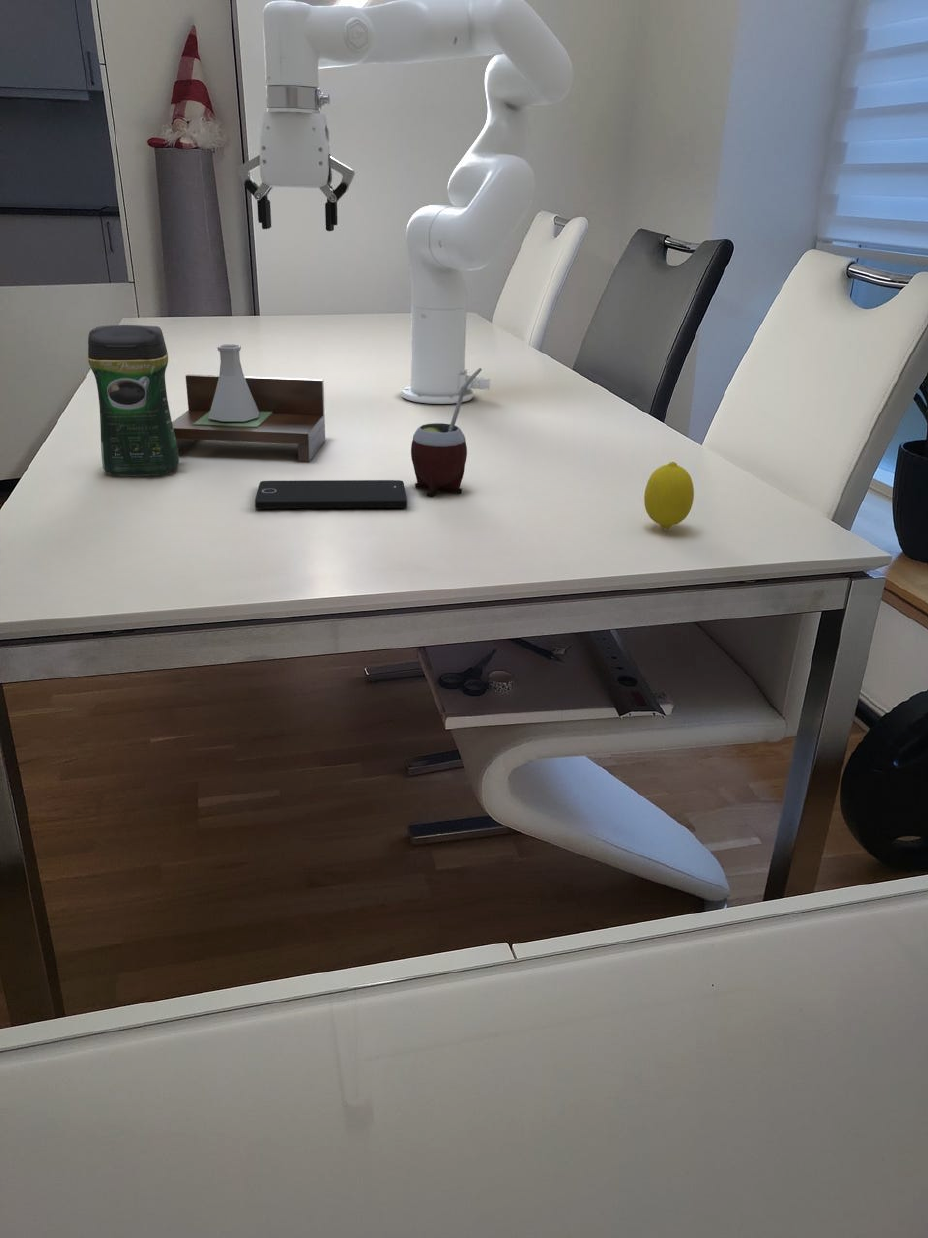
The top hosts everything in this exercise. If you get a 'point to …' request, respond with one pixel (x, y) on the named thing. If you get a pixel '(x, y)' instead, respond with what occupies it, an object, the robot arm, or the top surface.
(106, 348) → the coffee jar
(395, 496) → the cell phone
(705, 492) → the top surface
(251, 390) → the shelf
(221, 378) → the flask
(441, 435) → the mate gourd
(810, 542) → the top surface
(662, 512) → the lemon
